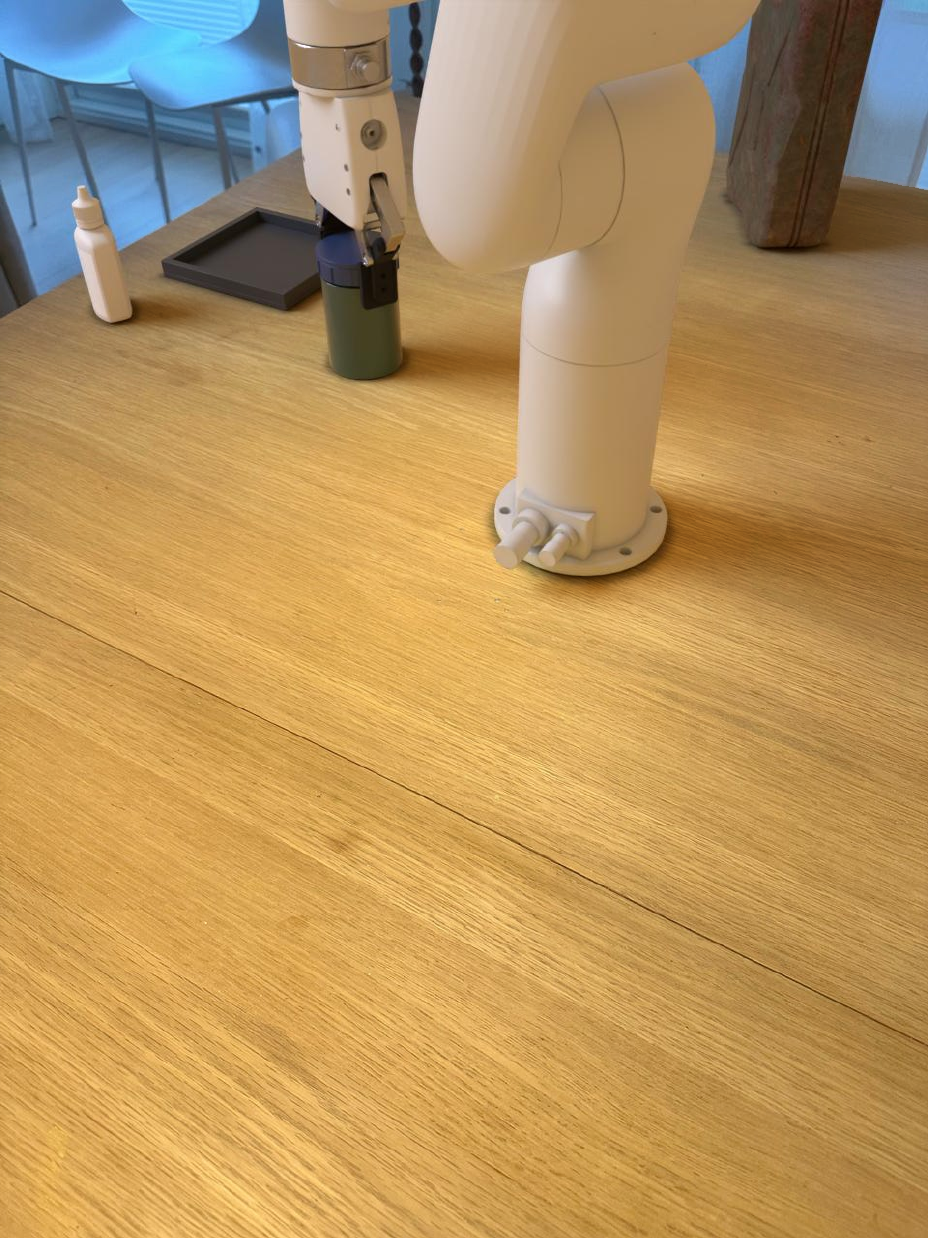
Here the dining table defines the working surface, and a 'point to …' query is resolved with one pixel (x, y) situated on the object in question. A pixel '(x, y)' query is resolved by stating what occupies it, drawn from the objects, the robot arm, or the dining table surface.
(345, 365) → the jar
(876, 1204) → the dining table surface
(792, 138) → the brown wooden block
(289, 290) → the tray
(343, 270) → the jar lid
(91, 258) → the eye dropper bottle
